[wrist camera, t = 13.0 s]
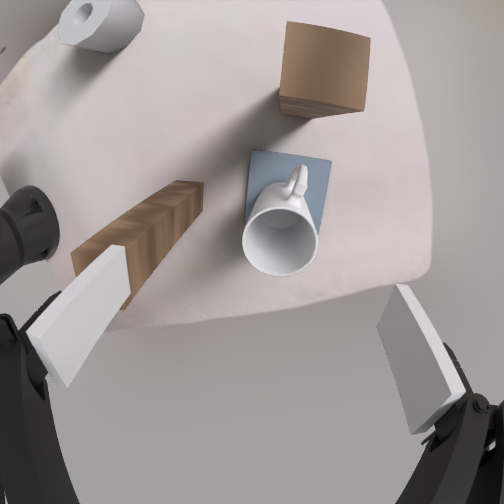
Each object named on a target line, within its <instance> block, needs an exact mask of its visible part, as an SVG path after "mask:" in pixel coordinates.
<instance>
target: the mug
mask: <svg viewBox="0 0 504 504" xmlns="http://www.w3.org/2000/svg"><path fill="white" fill-rule="evenodd" d="M307 177H308V170H307V167H306V166H305V165H302V164H301V165H299V166H297V167H296V168H295V169H294V170H293V171H292V172H291V174H290V177H289V179H288V182H287V183H284V182H278V183H273V184H271V185H269V186H267V187H266V188H264V189H263V191H262V192H261V193H260V195H259V197H258V199H257V201H256V203H255V205H254V208H253V210H252V212H251V214H250V216H249V219H248V221H247V223H246V226H245V229H244V232H243V236H242V247H243V251H244V254H245V256H246V258H247V260H248V261H249V262H250V264H251V265H252V266H253V267H254V268H256V269H257V270H258V271H260V272H262V273H264V274H266V275H270V276H275V277H284V276H290V275H293V274H296V273H298V272H300V271H302V270H303V269H304V268H306V267H307V266H308V265H309V264H310V262H311V261H312V260H313V258H314V256H315V254H316V251H317V247H318V236H317V232H316V229H315V226H314V223H313V220H312V217H311V215H310V212H309V209H308V206H307V204H306V201H305V199H304V197H303V195H304V193H305V191H306V189H307Z"/></svg>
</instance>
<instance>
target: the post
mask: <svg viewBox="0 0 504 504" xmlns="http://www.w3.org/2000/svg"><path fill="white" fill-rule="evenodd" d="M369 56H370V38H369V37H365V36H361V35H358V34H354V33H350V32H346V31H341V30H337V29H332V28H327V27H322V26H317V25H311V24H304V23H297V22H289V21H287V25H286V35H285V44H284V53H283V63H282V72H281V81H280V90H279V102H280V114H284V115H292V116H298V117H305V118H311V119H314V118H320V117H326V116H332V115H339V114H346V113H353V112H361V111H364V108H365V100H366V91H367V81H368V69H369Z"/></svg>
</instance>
